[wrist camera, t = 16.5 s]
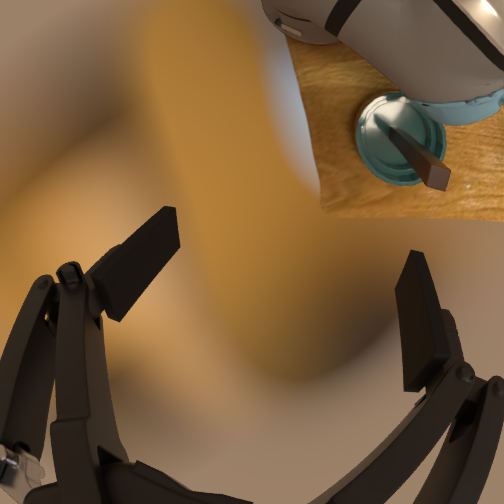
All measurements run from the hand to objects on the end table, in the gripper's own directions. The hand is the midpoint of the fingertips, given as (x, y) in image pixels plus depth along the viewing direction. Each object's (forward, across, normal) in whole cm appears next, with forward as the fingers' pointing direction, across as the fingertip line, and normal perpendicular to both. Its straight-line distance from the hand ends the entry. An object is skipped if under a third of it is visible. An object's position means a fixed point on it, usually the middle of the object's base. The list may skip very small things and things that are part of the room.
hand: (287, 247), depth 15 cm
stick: (+30, +11, +3) cm, 32 cm away
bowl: (+31, +11, +3) cm, 33 cm away
